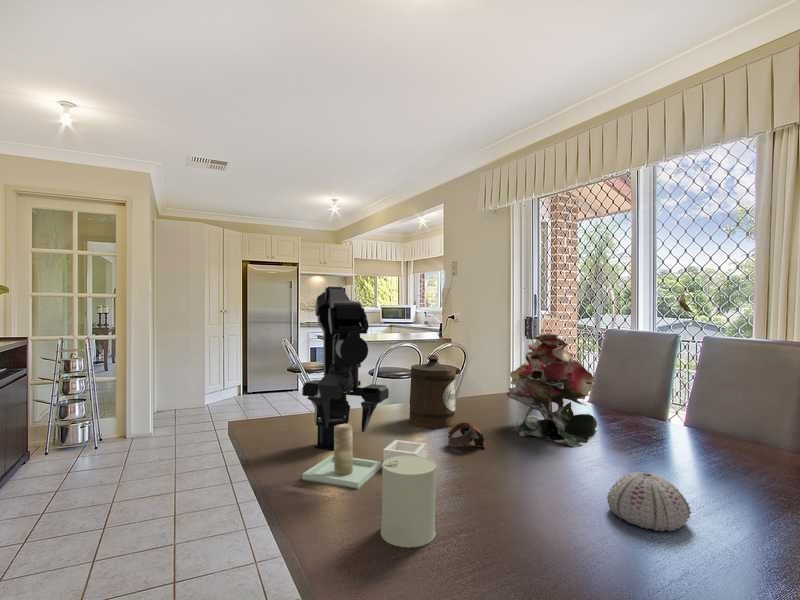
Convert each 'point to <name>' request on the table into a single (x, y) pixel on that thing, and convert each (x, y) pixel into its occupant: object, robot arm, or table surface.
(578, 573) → the table surface
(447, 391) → the wooden container
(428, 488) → the can
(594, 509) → the table surface
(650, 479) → the sea urchin shell
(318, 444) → the robot arm
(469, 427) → the brown rounded hollow piece
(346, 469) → the dowel
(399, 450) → the white square tube
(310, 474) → the tray
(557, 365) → the rose bouquet
